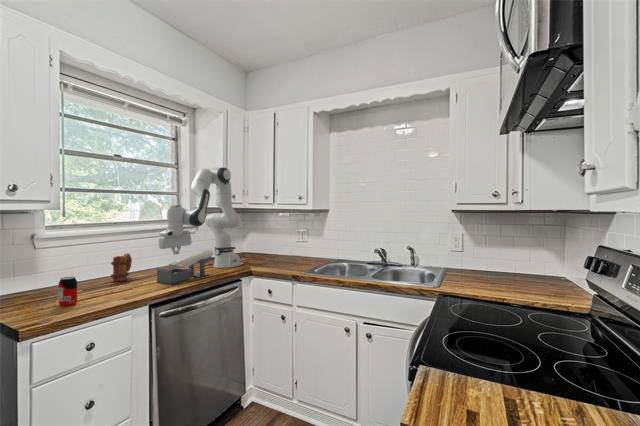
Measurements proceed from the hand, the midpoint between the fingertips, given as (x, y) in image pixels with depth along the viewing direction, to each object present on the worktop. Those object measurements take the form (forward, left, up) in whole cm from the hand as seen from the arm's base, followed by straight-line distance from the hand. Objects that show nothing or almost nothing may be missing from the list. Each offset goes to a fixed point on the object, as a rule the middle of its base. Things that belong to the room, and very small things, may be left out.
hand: (176, 254), depth 192 cm
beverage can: (+58, +7, -15) cm, 60 cm away
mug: (+19, -23, -15) cm, 34 cm away
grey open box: (+7, +8, -14) cm, 18 cm away
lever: (-9, +4, -8) cm, 12 cm away
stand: (-9, +8, -14) cm, 19 cm away
